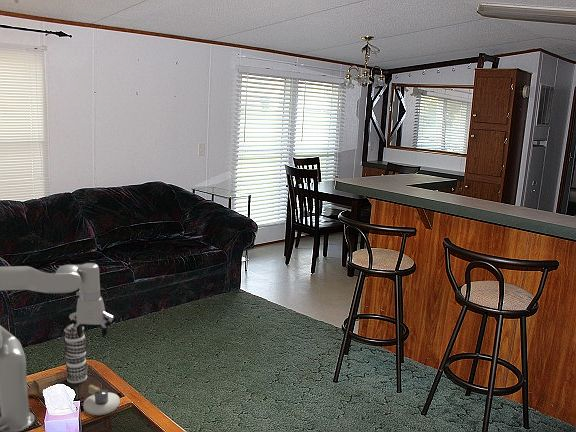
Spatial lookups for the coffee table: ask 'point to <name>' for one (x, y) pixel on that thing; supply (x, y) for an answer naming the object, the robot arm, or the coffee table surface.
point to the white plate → (103, 409)
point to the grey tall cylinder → (75, 355)
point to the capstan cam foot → (98, 394)
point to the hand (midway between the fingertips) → (92, 335)
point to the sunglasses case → (37, 389)
